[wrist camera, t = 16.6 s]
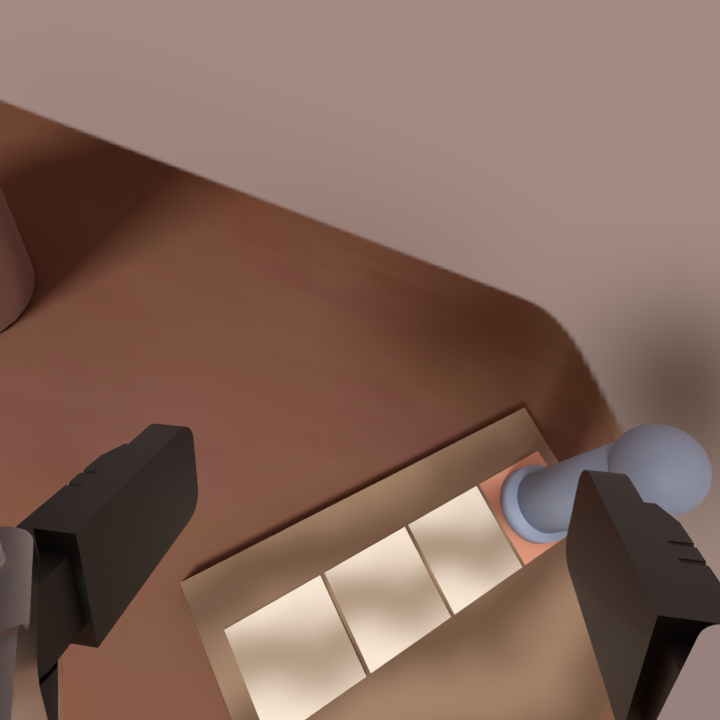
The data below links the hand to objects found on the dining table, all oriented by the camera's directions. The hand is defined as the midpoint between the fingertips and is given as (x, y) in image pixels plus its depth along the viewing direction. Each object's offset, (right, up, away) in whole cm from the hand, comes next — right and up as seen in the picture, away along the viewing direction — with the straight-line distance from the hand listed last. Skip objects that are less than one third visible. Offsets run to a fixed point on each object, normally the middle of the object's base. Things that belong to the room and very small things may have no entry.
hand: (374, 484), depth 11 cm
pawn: (+11, -7, +25) cm, 28 cm away
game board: (+5, -13, +21) cm, 25 cm away
